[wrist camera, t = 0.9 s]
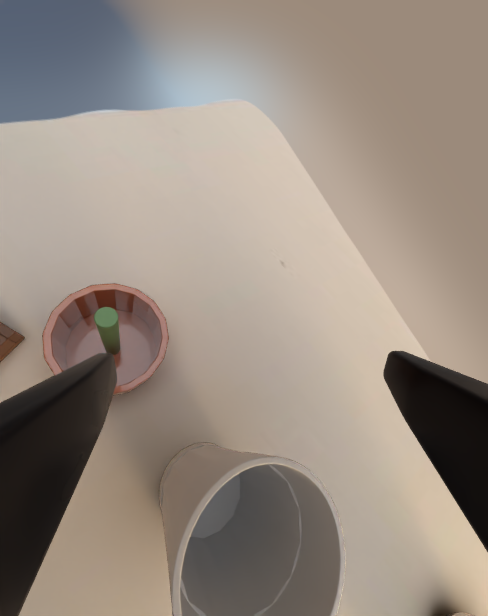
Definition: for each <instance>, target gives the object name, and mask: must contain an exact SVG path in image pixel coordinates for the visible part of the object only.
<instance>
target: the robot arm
mask: <svg viewBox="0 0 488 616" xmlns="http://www.w3.org/2000/svg"><path fill="white" fill-rule="evenodd" d="M384 379H385V381H386V383H387V385H388V387H389V389H390V391H391V393H392V395H393V397H394V399H395V401H396V403H397V405H398V407H399V409H400V411H401V413H402V415H403V417H404V419H405V421H406V422H407V424H408V426H409V427H410V429H411V430H412V432H413V434H414V435H415V437H416V438H417V440H418V442H419V443H420V445H421V446H422V448H423V450H424V451H425V453H426V454H427V456H428V458H429V459H430V461H431V462H432V464H433V465H434V467H435V469H436V470H437V472H438V473H439V475H440V477H441V478H442V480H443V481H444V483H445V485H446V486H447V488H448V489H449V491H450V493H451V494H452V496H453V497H454V499H455V501H456V502H457V504H458V505H459V507H460V509H461V510H462V512H463V513H464V515H465V517H466V518H467V520H468V521H469V523H470V525H471V526H472V528H473V529H474V531H475V533H476V534H477V536H478V537H479V539H480V541H481V542H482V544H483V545H484V547H485V549H486V550H487V552H488V384H486V383H484V382H481V381H479V380H476V379H474V378H471V377H468V376H466V375H463V374H461V373H458V372H456V371H453V370H450V369H448V368H445V367H443V366H440V365H437V364H435V363H432V362H430V361H427V360H425V359H422V358H420V357H417V356H414V355H412V354H409V353H407V352H404V351H391V352H390V353H389V354H388V357H387V361H386V365H385V368H384ZM116 383H117V371H116V365H115V359H114V356H113V354H112V353H98V354H96V355H94V356H92V357H90V358H88V359H86V360H84V361H82V362H80V363H78V364H76V365H74V366H72V367H70V368H68V369H66V370H64V371H63V372H61V373H59V374H57V375H55V376H53V377H51V378H49V379H47V380H45V381H43V382H41V383H39V384H37V385H35V386H33V387H31V388H29V389H27V390H25V391H23V392H21V393H19V394H17V395H15V396H13V397H11V398H9V399H7V400H5V401H3V402H1V403H0V616H18V615H19V613H20V611H21V609H22V606H23V604H24V602H25V600H26V598H27V595H28V593H29V591H30V589H31V586H32V584H33V582H34V580H35V577H36V575H37V573H38V571H39V569H40V566H41V564H42V562H43V560H44V557H45V555H46V553H47V551H48V548H49V546H50V544H51V542H52V539H53V537H54V535H55V533H56V531H57V528H58V526H59V524H60V522H61V519H62V517H63V515H64V513H65V510H66V508H67V506H68V504H69V501H70V499H71V497H72V495H73V493H74V490H75V488H76V486H77V484H78V481H79V479H80V477H81V475H82V472H83V470H84V468H85V466H86V464H87V461H88V459H89V457H90V455H91V452H92V450H93V448H94V446H95V443H96V441H97V439H98V437H99V434H100V432H101V430H102V427H103V424H104V421H105V418H106V415H107V412H108V409H109V406H110V403H111V399H112V396H113V393H114V390H115V387H116Z"/></svg>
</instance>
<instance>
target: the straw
mask: <svg viewBox="0 0 488 616" xmlns="http://www.w3.org/2000/svg"><path fill="white" fill-rule="evenodd" d="M94 321H95V324H96V326H97V329H98V332H99V334H100V337H101V340H102V342H103V345H104V348H105V350H106V352H107V353H112V354H113V355H115V354H117V353H118V352H119V351H120V334H119V320H118V314H117V312H116V311H115V310H114V309H113V308H110V307H102V308H100V309H98V310H97V311H96V313H95V315H94Z"/></svg>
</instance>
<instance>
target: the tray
mask: <svg viewBox="0 0 488 616" xmlns="http://www.w3.org/2000/svg"><path fill="white" fill-rule="evenodd" d="M24 338H25V337H23V336H22V335H20V334H19V333H17V332H15V331H14V330H12V329H11V328H9V327H8V326H6V325H4V324H3V323H1V322H0V362H1V361H2V360H3V359H4V358H5V357H6V356H7V355H8V354H9V353H10V352H11V351H12V350H13V349H14V348H15V347H16V346H17V345H18V344H19V343H20V342H21V341H22V340H23V339H24Z"/></svg>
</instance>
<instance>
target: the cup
mask: <svg viewBox="0 0 488 616" xmlns="http://www.w3.org/2000/svg"><path fill="white" fill-rule="evenodd" d="M159 502H160V508H161V511H162V517H163V525H164V534H165V542H166V551H167V560H168V569H169V580H170V591H171V603H172V613H173V616H336V615H337V612H338V609H339V605H340V601H341V597H342V592H343V585H344V577H345V544H344V536H343V530H342V526H341V522H340V518H339V515H338V512H337V509H336V507H335V504H334V502H333V500H332V498H331V496H330V494H329V493H328V491H327V489H326V488H325V487H324V485H323V484H322V483H321V481H320V480H319V479H318V478H317V477H316V476H315V475H314V474H313V473H312V472H311V471H310V470H308V469H307V468H306V467H304V466H303V465H301V464H299V463H297V462H295V461H293V460H290V459H287V458H282V457H276V456H270V455H263V454H257V453H250V452H238V451H233V450H229V449H224V448H221V447H219V446H217V445H214V444H211V443H197V444H193V445H191V446H188V447H186V448H185V449H183V450H182V451H180V452H179V453H178V454H177V455H176V456H175V457H174V458H173V459H172V460H171V461H170V463H169V464H168V466H167V468H166V469H165V472H164V474H163V476H162V479H161V483H160V489H159Z"/></svg>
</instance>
